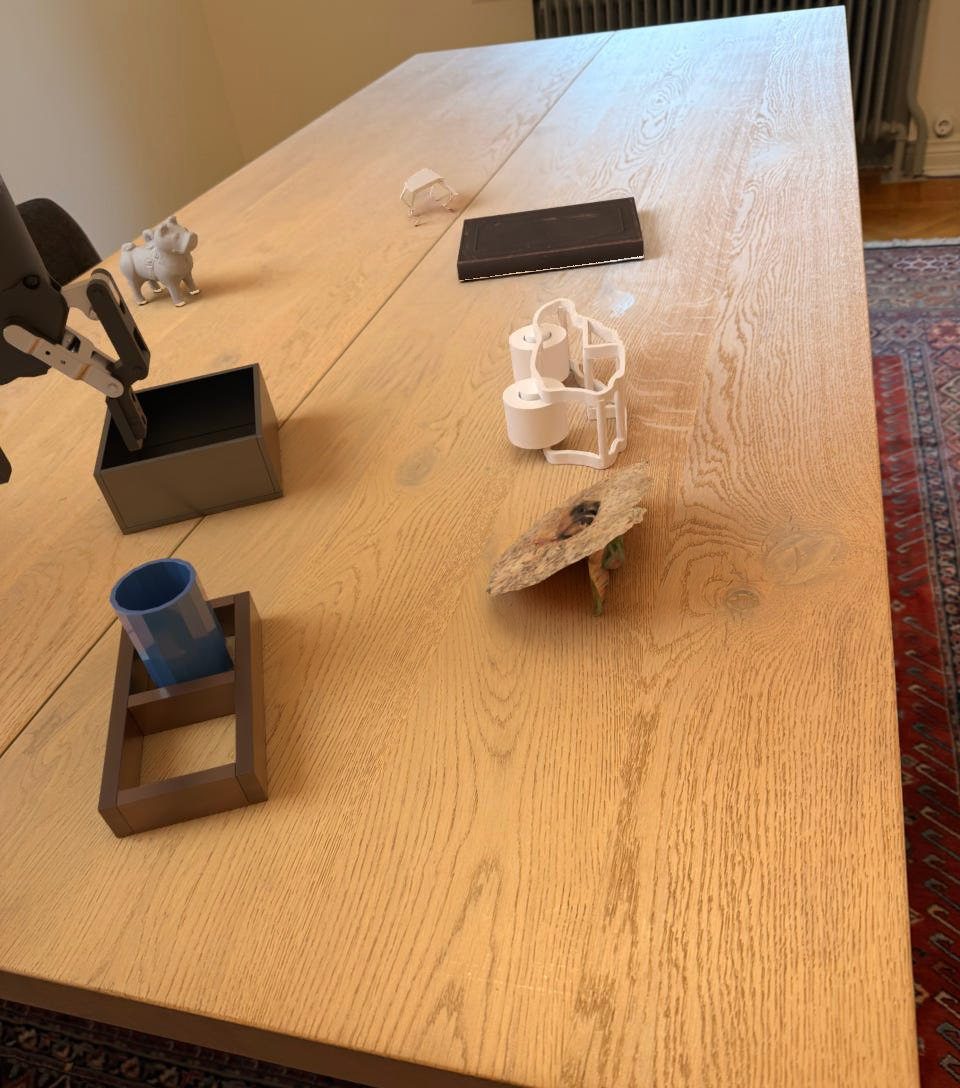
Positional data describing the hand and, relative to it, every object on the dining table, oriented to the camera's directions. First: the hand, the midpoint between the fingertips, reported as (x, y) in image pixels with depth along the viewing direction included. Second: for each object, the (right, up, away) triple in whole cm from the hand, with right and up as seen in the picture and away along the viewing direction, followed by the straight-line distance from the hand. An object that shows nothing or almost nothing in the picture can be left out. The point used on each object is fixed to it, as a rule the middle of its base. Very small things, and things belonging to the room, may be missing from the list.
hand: (70, 461), depth 59 cm
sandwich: (+33, -6, +14) cm, 37 cm away
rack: (+5, -17, +8) cm, 20 cm away
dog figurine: (-16, +35, +69) cm, 80 cm away
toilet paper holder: (+35, +10, +32) cm, 48 cm away
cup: (+5, -14, +12) cm, 19 cm away
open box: (-1, +5, +33) cm, 34 cm away
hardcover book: (+35, +40, +63) cm, 82 cm away
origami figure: (+19, +52, +80) cm, 98 cm away
